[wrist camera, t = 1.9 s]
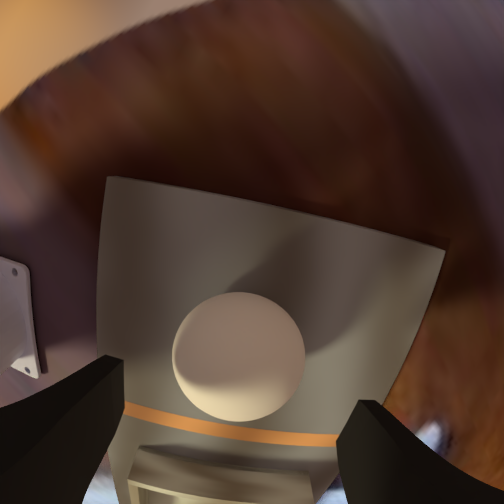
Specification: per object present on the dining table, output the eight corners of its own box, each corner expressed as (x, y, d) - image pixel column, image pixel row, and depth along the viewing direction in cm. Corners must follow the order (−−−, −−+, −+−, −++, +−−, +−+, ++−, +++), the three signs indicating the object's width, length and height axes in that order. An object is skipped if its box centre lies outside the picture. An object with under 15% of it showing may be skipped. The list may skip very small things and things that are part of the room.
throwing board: (123, 503, 20) (114, 533, 16) (116, 175, 13) (71, 178, 9) (286, 528, 21) (289, 559, 17) (435, 246, 14) (482, 268, 10)
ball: (179, 360, 14) (155, 432, 9) (193, 263, 13) (163, 314, 8) (280, 378, 14) (291, 454, 10) (308, 286, 13) (338, 345, 8)
